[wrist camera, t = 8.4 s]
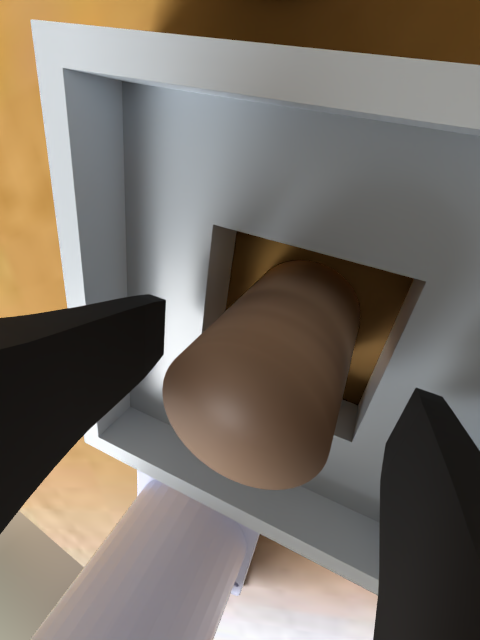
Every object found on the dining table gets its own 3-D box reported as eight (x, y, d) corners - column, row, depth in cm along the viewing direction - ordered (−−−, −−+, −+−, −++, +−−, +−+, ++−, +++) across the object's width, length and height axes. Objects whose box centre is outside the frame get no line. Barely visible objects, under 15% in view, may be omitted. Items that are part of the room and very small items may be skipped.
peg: (339, 375, 13) (302, 515, 8) (244, 339, 14) (159, 443, 9) (377, 280, 11) (359, 390, 6) (263, 246, 12) (166, 316, 7)
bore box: (424, 512, 14) (430, 623, 11) (142, 387, 18) (84, 442, 15) (706, 129, 7) (972, 115, 4) (142, 57, 11) (30, 19, 8)
